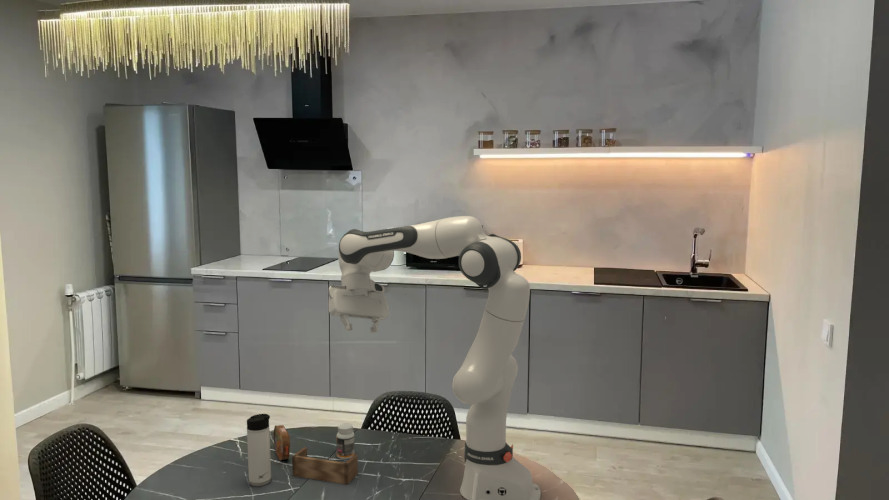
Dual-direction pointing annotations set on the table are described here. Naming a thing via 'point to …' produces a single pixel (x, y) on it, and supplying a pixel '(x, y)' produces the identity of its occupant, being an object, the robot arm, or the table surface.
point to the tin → (281, 442)
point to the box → (324, 468)
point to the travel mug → (259, 450)
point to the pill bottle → (345, 441)
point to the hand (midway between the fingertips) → (361, 331)
